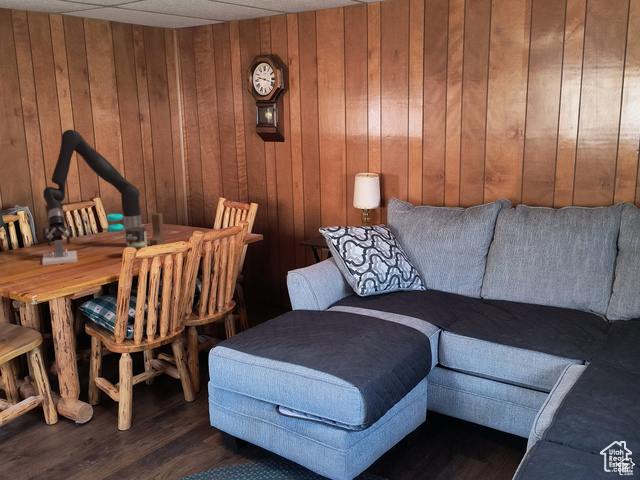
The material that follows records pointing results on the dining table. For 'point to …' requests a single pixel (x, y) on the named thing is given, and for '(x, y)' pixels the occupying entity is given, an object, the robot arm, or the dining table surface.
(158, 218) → the wooden block
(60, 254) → the block
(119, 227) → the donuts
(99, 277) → the dining table surface
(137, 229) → the coffee can
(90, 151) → the robot arm
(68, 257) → the grey peg board
